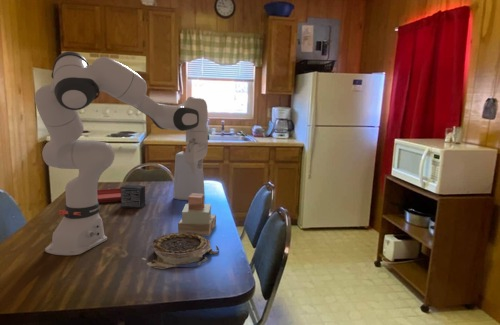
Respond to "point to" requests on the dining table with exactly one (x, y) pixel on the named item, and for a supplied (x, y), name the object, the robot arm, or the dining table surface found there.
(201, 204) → the terracotta cube
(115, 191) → the plant saucer
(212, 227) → the lower slab
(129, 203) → the small box
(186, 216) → the upper slab
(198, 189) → the plastic bottle
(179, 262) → the pie
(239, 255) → the dining table surface
